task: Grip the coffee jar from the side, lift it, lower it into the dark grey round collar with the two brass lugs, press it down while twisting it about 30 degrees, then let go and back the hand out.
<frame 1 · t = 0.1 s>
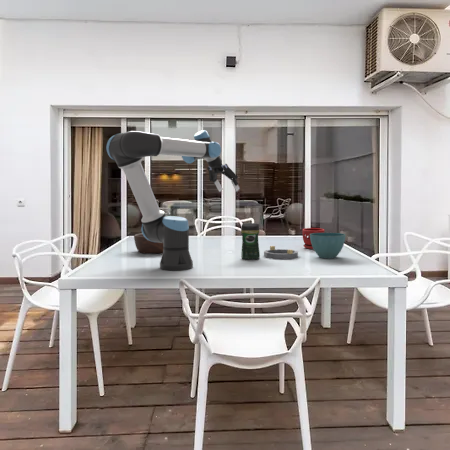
hand: (229, 190, 224), 36 cm above the table, tool tilted 35°, fingers open, 13 cm apart
wooden bowl: (156, 252, 237), on the table
coffee jar: (250, 259, 208), on the table
plant pot: (327, 257, 211), on the table
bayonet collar: (280, 256, 215), on the table
plant pot 2: (313, 248, 245), on the table
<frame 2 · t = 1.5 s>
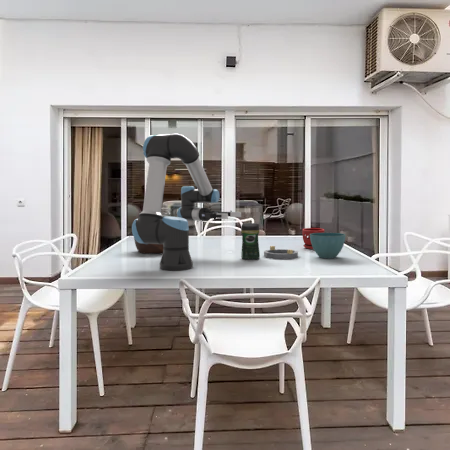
hand: (234, 215, 211), 22 cm above the table, tool horizontal, fingers open, 13 cm apart
nothing on the table moved.
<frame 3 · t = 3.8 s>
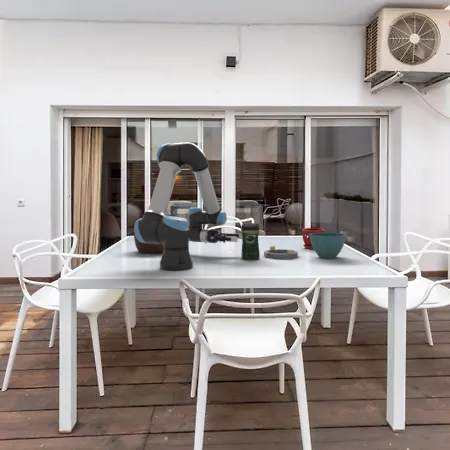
hand: (243, 238, 210), 10 cm above the table, tool horizontal, fingers open, 13 cm apart
nothing on the table moved.
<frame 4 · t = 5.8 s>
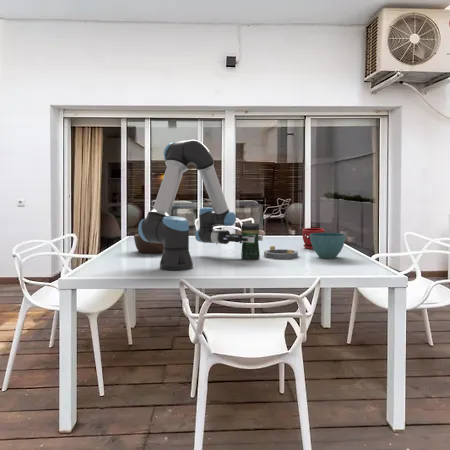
hand: (258, 239, 205), 11 cm above the table, tool horizontal, fingers closed on coffee jar, 9 cm apart
coffee jar: (250, 259, 208), on the table, touching gripper
everything else where it was.
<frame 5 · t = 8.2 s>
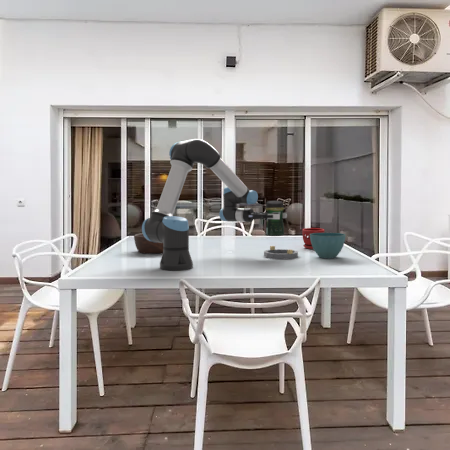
hand: (282, 216, 211), 22 cm above the table, tool horizontal, fingers closed on coffee jar, 9 cm apart
coffee jar: (274, 235, 214), point 11 cm above the table, touching gripper
everything else where it was.
when the fingers open (11 cm above the table, at t = 10.8 s): coffee jar stays where it is, resting on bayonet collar.
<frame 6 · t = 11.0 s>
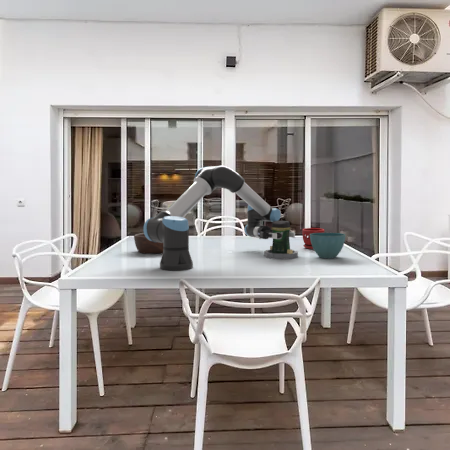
hand: (285, 235, 211), 11 cm above the table, tool horizontal, fingers open, 11 cm apart
coffee jar: (281, 255, 215), resting on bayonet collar
everything else where it was.
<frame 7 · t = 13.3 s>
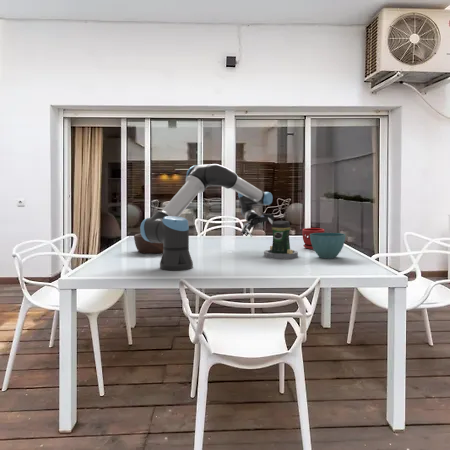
hand: (261, 228, 218), 14 cm above the table, tool horizontal, fingers open, 13 cm apart
nothing on the table moved.
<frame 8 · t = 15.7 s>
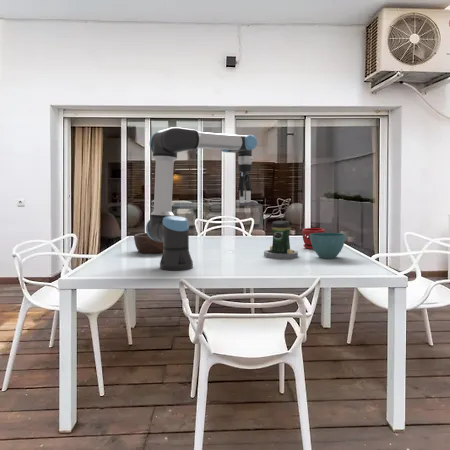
hand: (245, 202, 224), 29 cm above the table, tool pointing down, fingers open, 13 cm apart
nothing on the table moved.
at the end: coffee jar 0.1 cm from the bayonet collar (horizontally); coffee jar tilted 0°; the gripper is holding nothing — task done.
